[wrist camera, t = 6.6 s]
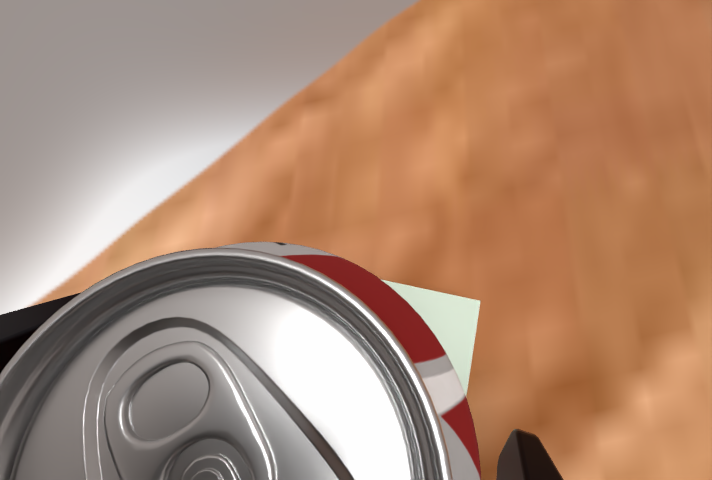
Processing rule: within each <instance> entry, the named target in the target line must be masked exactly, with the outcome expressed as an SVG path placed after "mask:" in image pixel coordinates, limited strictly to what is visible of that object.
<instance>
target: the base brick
mask: <svg viewBox="0 0 712 480" xmlns="http://www.w3.org/2000/svg"><path fill="white" fill-rule="evenodd" d="M382 281H383V282H384V283H386V284H387V285H389V286H390V287H391V288H392V289H394V290H395V291H396V292H397V293H398V294H399V295H400V296H401V297H402V298H404V299H405V300H406V301H407V302H408V303H409V304H410V305H411V306H412V308H413V309H414V310H415V311H416V312H417V313H418V314H419V315H420V316H421V317H422V319H423V320H424V321H425V323H426V324H427V325H428V326H429V328H430V329H431V330H432V332H433V333H434V334H435V336H436V337H437V339H438V341H439V342H440V344H441V345H442V347H443V349H444V350H445V352H446V353H447V355H448V357H449V359H450V361H451V363H452V365H453V367H454V369H455V371H456V373H457V375H458V378H459V380H460V383H461V386H462V388H463V391H464V393H465V396H466V395H467V388H468V381H469V374H470V368H471V361H472V354H473V348H474V341H475V334H476V327H477V321H478V314H479V307H480V301H478V300H474V299H469V298H464V297H460V296H455V295H450V294H446V293H441V292H436V291H432V290H427V289H422V288H418V287H413V286H408V285H404V284H399V283H394V282H390V281H385V280H382Z"/></svg>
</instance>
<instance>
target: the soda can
mask: <svg viewBox="0 0 712 480" xmlns="http://www.w3.org/2000/svg"><path fill="white" fill-rule="evenodd" d="M0 480H481V469H480V460H479V451H478V443H477V438H476V433H475V428H474V423H473V419H472V416H471V412H470V409H469V405H468V402H467V399H466V396H465V393H464V391H463V388H462V386H461V383H460V380H459V378H458V375H457V373H456V371H455V369H454V367H453V365H452V363H451V361H450V359H449V357H448V355H447V353H446V352H445V350H444V349H443V347H442V345H441V344H440V342H439V341H438V339H437V337H436V336H435V334H434V333H433V332H432V330H431V329H430V328H429V326H428V325H427V324H426V323H425V321H424V320H423V319H422V317H421V316H420V315H419V314H418V313H417V312H416V311H415V310H414V309H413V308H412V306H411V305H410V304H409V303H408V302H407V301H406V300H405V299H404V298H402V297H401V296H400V295H399V294H398V293H397V292H396V291H395V290H394V289H392V288H391V287H390V286H389V285H387V284H386V283H384V282H383V281H382V280H380V279H379V278H378V277H376V276H375V275H373V274H372V273H370V272H368V271H367V270H365V269H363V268H361V267H360V266H358V265H356V264H354V263H352V262H350V261H348V260H345V259H343V258H341V257H339V256H336V255H333V254H330V253H327V252H325V251H322V250H318V249H314V248H310V247H306V246H302V245H295V244H288V243H278V242H250V243H239V244H232V245H225V246H221V247H217V248H203V249H193V250H186V251H179V252H174V253H170V254H166V255H162V256H158V257H154V258H152V259H149V260H146V261H143V262H140V263H137V264H134V265H132V266H130V267H127V268H125V269H123V270H121V271H118V272H116V273H114V274H112V275H110V276H108V277H107V278H105V279H103V280H101V281H99V282H97V283H96V284H94V285H92V286H91V287H89V288H88V289H86V290H85V291H83V292H82V293H80V294H79V295H77V296H76V297H74V298H73V299H72V300H71V301H69V302H68V303H67V304H65V305H64V306H63V307H62V308H60V309H59V310H58V311H57V312H55V313H54V314H53V315H52V316H51V317H50V318H49V319H48V320H47V321H46V322H44V323H43V324H42V325H41V326H40V327H39V328H38V329H37V330H36V331H35V332H34V333H33V334H32V335H31V337H30V338H29V339H28V340H27V341H26V342H25V343H24V344H23V345H22V346H21V347H20V349H19V350H18V351H17V352H16V354H15V355H14V356H13V357H12V359H11V360H10V361H9V362H8V364H7V365H6V366H5V368H4V369H3V370H2V372H1V373H0Z"/></svg>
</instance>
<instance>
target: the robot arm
mask: <svg viewBox="0 0 712 480" xmlns="http://www.w3.org/2000/svg"><path fill="white" fill-rule="evenodd" d="M81 293H82V292H81ZM79 294H80V293H78V294H74V295H71V296H67V297H63V298H60V299H56V300H53V301H49V302H45V303H42V304H38V305H35V306H31V307H27V308H24V309H20V310H17V311H13V312H9V313H6V314H2V315H0V373H1V372H2V370H3V369H4V368H5V366H6V365H7V364H8V362H9V361H10V360H11V359H12V357H13V356H14V355H15V354H16V352H17V351H18V350H19V349H20V347H21V346H22V345H23V344H24V343H25V342H26V341H27V340H28V339H29V338H30V337H31V335H32V334H33V333H34V332H35V331H36V330H37V329H38V328H39V327H40V326H41V325H42V324H43V323H44V322H46V321H47V320H48V319H49V318H50V317H51V316H52V315H53V314H54V313H55V312H57V311H58V310H59V309H60V308H62V307H63V306H64V305H65V304H67V303H68V302H69V301H71V300H72V299H73V298H74V297H76V296H77V295H79ZM496 480H563V478H562V476H561V475H560V473H559V471H558V470H557V468H556V466H555V465H554V463H553V461H552V460H551V458H550V456H549V455H548V453H547V451H546V449H545V448H544V446H543V444H542V443H541V441H540V439H539V438H538V437H537V436H536V435H534V434H532V433H529V432H526V431H523V430H520V429H514V430H513V431H512V432H511V434H510V436H509V438H508V440H507V442H506V444H505V446H504V448H503V450H502V452H501V454H500V456H499V460H498V466H497V478H496Z"/></svg>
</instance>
